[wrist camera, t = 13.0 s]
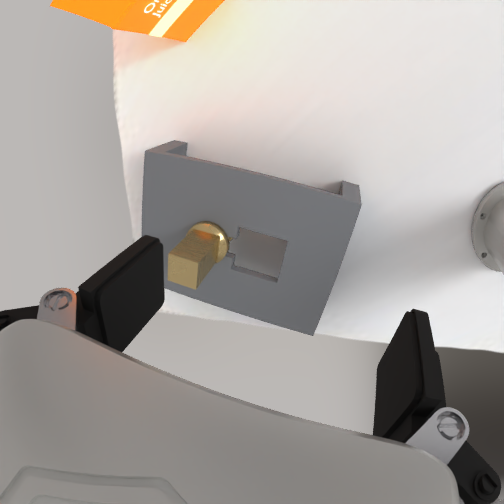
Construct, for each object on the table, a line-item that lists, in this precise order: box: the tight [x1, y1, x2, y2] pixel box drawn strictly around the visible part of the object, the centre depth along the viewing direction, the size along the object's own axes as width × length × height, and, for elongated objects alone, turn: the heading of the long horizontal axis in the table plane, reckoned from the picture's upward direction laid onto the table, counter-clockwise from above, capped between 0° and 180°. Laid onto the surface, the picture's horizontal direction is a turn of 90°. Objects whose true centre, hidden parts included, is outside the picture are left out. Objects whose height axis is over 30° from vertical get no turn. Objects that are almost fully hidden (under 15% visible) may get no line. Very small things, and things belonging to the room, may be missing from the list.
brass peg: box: [168, 221, 232, 290], centre depth 37 cm, size 5×5×12 cm
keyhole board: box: [142, 140, 361, 336], centre depth 40 cm, size 24×18×7 cm
